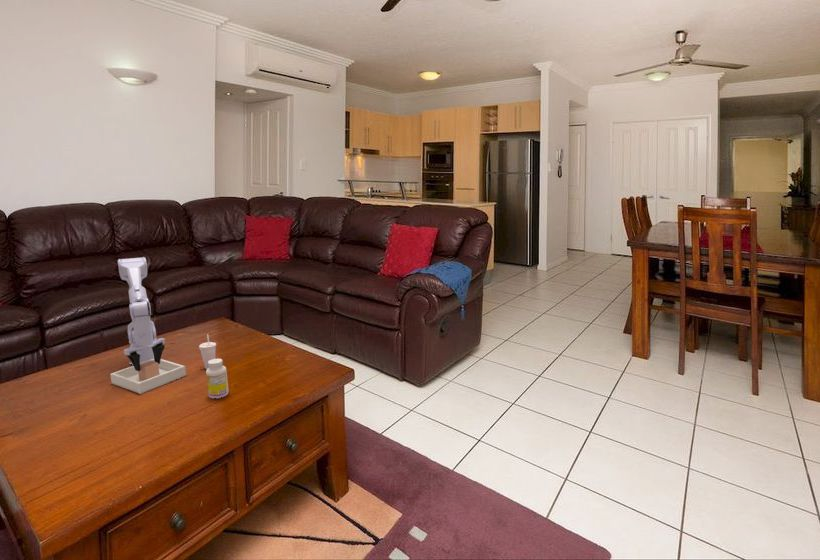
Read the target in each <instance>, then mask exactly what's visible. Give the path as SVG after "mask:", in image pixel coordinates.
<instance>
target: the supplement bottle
mask: <svg viewBox="0 0 820 560" xmlns="http://www.w3.org/2000/svg"><path fill="white" fill-rule="evenodd" d="M223 363H224V361H223V359H222V358H215V359H212V360H209V361H208V366H209V368H208V369H206V371H205V376H206V384H207V394H208V397H209V398H210V399H214V398H216V399H222V398H225V397H226V396H227V395H228V394H229V393H230V392H229V383H228V382H229V381H228V374H227V373H228V371H227V367H226V366H225V365H223ZM221 397H222V398H221Z"/></svg>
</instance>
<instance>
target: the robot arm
mask: <svg viewBox="0 0 820 560" xmlns="http://www.w3.org/2000/svg"><path fill="white" fill-rule="evenodd" d="M117 266H118V274H119V277H120V279H121V280H122V281H126V283H127V285H128V287H129V288H128V297H129V298H128V300H129V306H128V307H129V313H130V318H131V322H130V323H129V324H128V325H127V338H128V343H129V344H130V346H129V347H128V348H125V349H123V354H124V355H125V356H126V358H128V360H129V361H130V362H128V364H129V365H131V364H132V366H134V368H135V370H136V371H140V369H141V368H140V363H143V362H146V361H149V360H151V359H154V361H155V362H157V363H158V364H160V360H161V359H162V354H163V353H164V350H165V344H166V339H165V338H163V337H160V338H158V337H157V330H156V326H155V322H154V321H153V320H151V319H152V318H151V315H152V310H151V309H152V308H151V303H150V300H149V298H148V295H147V289H146V288H145V287H144V286H143V285H142V281H143V280H144V279H145V278H147V276H148V264H147V259H146V257H145V256H142V257H133V258H132V257H130V258H118V260H117Z"/></svg>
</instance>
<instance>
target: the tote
mask: <svg viewBox="0 0 820 560" xmlns="http://www.w3.org/2000/svg"><path fill="white" fill-rule="evenodd" d="M149 361H150V360H149ZM151 361H154V359H151ZM146 362H147V361H146ZM154 362H155V361H154ZM143 363H144V362H143ZM140 364H141V363H140ZM158 367H159V374H160V375H157V376H155V377H152V378H150V379H147V380H144V381H142V380H139V374H138V371H136V370H135V368H134V365H132V366H128V367H127V368H126V367H125V368H123V369H120V370H117V371H115V372H112V373H111V372H110V380H111V381H110V382H111V384H112V385H114V386H117V387H120V388H122V389H124V390H128V391H131V392H133V393H136V394H138V395H142V394H144V393H147V392H149V391H152V390H154V389H155V390H156V388H159V387H162V386H164V385H167V384H169V383H172V382H175V381H176V379H177V380H179V379H181V377H182V378H184V377H186V376H187V372H186V365H182V364H179V363H177V362H172V361H169V360H167V359H163V358H161V360H160V364H158ZM171 381H172V382H171Z"/></svg>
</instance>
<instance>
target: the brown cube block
mask: <svg viewBox="0 0 820 560" xmlns="http://www.w3.org/2000/svg"><path fill="white" fill-rule="evenodd" d="M140 368H141V369H140V371H138V374H139V380H142V381H144V380H147V379H150V378H152V377H155V376H157V375H160V374H159V367H158V363H157V362H154V361H151V360H150V361H147V362H144V363H141V364H140Z"/></svg>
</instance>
